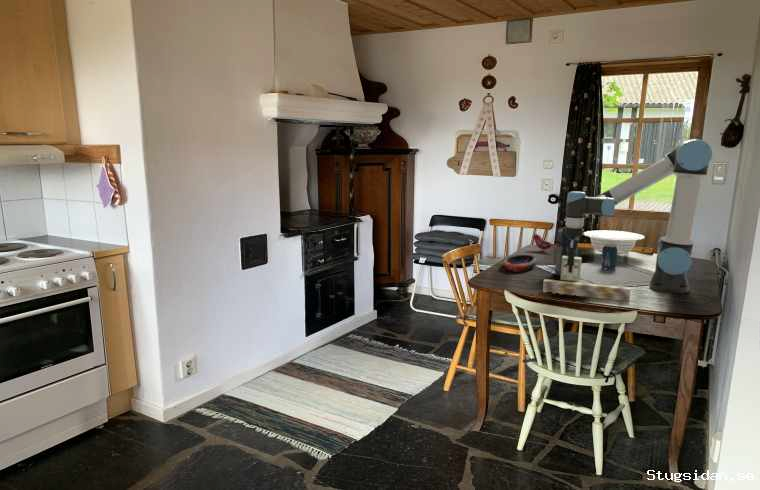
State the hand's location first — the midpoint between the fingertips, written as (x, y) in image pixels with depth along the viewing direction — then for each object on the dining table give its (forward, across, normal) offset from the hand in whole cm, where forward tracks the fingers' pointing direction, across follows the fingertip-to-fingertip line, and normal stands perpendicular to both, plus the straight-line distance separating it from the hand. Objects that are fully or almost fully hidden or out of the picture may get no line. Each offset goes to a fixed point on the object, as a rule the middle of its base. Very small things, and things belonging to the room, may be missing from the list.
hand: (570, 277), depth 236 cm
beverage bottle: (+4, -21, -4) cm, 22 cm away
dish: (+5, -28, -27) cm, 40 cm away
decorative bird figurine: (+4, -72, -20) cm, 75 cm away
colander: (+4, -73, +16) cm, 75 cm away
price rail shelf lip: (+4, +13, +7) cm, 15 cm away
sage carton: (+1, 0, 0) cm, 1 cm away
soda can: (+4, -43, +15) cm, 46 cm away
